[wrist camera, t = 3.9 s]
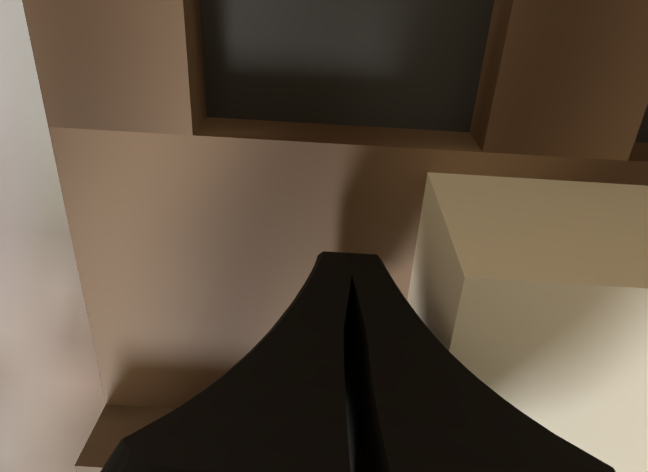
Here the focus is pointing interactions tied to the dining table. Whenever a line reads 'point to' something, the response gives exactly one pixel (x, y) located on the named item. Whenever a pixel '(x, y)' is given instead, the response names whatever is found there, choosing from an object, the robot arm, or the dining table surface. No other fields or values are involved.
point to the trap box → (298, 152)
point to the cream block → (544, 300)
